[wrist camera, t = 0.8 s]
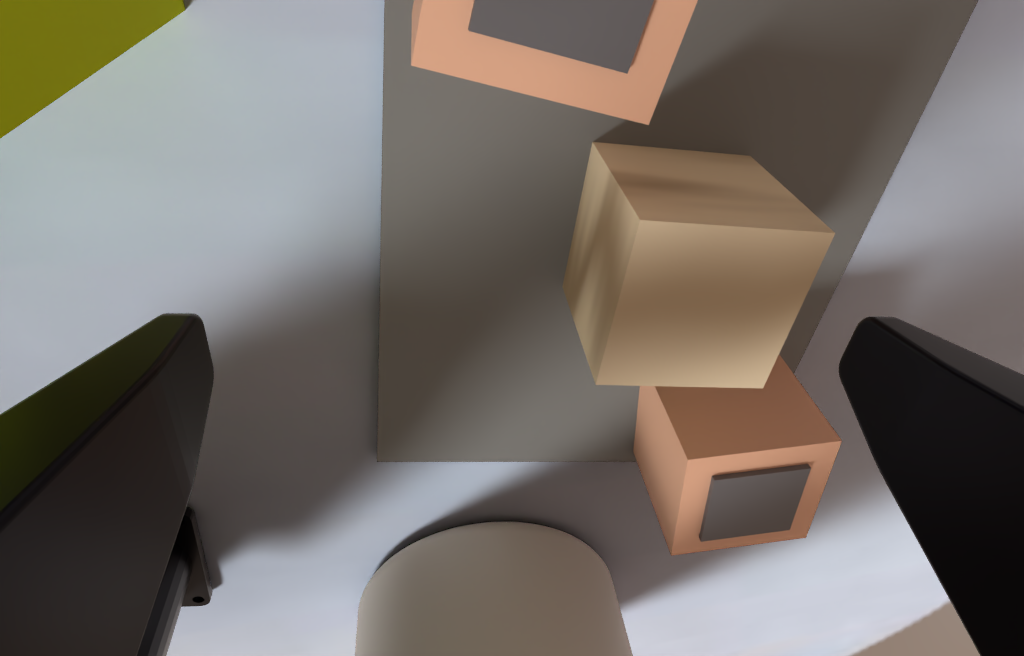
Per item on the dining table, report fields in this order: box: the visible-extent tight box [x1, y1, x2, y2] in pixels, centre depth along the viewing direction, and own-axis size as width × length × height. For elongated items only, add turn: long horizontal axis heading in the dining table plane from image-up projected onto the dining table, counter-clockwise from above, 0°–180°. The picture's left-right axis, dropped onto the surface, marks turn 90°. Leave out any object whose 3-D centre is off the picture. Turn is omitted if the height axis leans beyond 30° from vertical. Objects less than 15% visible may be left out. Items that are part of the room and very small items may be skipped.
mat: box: [377, 0, 978, 462], centre depth 21 cm, size 22×16×1 cm
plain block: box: [562, 142, 835, 388], centre depth 19 cm, size 5×5×5 cm
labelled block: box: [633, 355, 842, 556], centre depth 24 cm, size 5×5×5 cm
